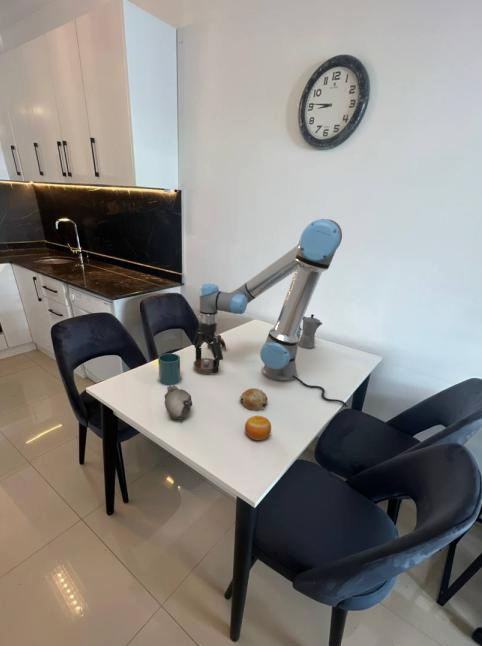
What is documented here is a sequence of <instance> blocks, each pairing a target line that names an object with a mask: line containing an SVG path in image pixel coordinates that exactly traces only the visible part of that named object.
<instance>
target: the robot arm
mask: <svg viewBox="0 0 482 646" xmlns="http://www.w3.org/2000/svg"><path fill="white" fill-rule="evenodd" d="M342 231H343V230H342V227H341V226H340V225H339V223H337V222H336V221H335V220H333V219H330V218H329V219H328V218H318V219H315V220H313V221H312V222H311V223H309V224H308V225H307V226H306V227H305V228H304V229H303V230H302V232H301V235H300V237H299V240H298V243H297V244H296V246H294V247H293V248H291V249H290V250H288V251H287V252H285V254H283V255H282V256H280V257H278V259H276V260H275V261H274V262H271V264H269V265H268V266H267V267H265V268H264V269H262V270H261V271H260V272H259V273H257V274H256V275H254V276H253V277H252V278H250V279H249V280H248V281H246V282H245V283H243V284H242V285H241V286H239V287H238V288H236V289H235V290H232V291H230V292H227V291H221V290H219V285H218V284H215V283H203V284H201V285H200V287H199V295H198V296H199V318H198V319H199V320H198V321H199V323H198V328H196V333H195V336H194V338H193V341H192V347H193V346H194V349H195V361H196V360H197V359H201V358H202V351H203V350H202V349H203V348H202V345H203V344H204V343H205V344H207V345H208V346H209V347H210V348H209V349H210V351H211V354H212V357H213V374H217V373H219V370H220V369H219V368H220V362H221V361H223V360H224V356H223V351H222V346H221V345H220V342H219V337H215V333H216V332H217V329H218V323H217V322H218V311H220V312H224V313H229V314H230V313H231V314H234V315H235V314H236V315H243V314H244V313H245V312H246V311H247V307H248V304H249V303H251V302H252V301H254V300H255V299H256V298H258V297H259V296H261V295H262V294H263V293H265V292H266V291H268V290H269V289H271V288H272V287H274V286H275V285H277V284H278V283H280V282H281V281H283V280H284V279H286V278H288V277H289V276H290V275H292V274H293V273H294V274H293V277H292V280H291V282H290V285H289V288H288V291H287V293H286V296H285V299H284V302H283V304H282V307H281V310H280V313H279V315H278V318H277V321H276V323H275V325H274V326H273V327H272V328H270V330H269V332H268V334H267V337H266V340H265V343H264V344H263V345H262V347H261V349H260V351H259V357H260V360H261V362H262V363H263V364H264V366H263V370H262V372H263V375H264V376H265V377H267V378H269V379H271V380H273V381H278V382H290V381H292V380H293V381H294V379H295V380H296V381H298V382H299V383H301V385H303V386H304V387H307V388H311V389H312V388H313V389H319V390H321V391H322V392H321V398H322V399H323V400H325V401H326V402H336V403H340V404H342V405H343V407H345V408H347V407H348V405H347V403H346V402H345V401H343V400H341V399H337V398H336V399H333V398H327V397H326V396H325V393H326V390H325V388H324V387H322V386H320V385H311V384H307V383H305V382H304V381H303V380H301V379H300V378H299V377H297V374H298V371H297V363H296V357H297V353H298V348H299V345H298V343H299V341H300V338H301V335H302V334H301V332H302V330H300V329H299V327H300V328H301V324H302V323H303V320H302V319H303V317H304V316H305V314H306V312H307V309H308V307H309V305H310V302H311V299H312V297H313V295H314V293H315V290H316V288H317V285H318V283H319V281H320V278H321V275H322V274H323V272H326V271H328V270H329V268H330V266H331V264H332V261H333V259H334V256H335V254H336V251H337V250H338V248H339V247H340V245H341V243H342V239H343V232H342Z"/></svg>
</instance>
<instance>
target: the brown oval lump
mask: <svg viewBox="0 0 482 646" xmlns="http://www.w3.org/2000/svg"><path fill="white" fill-rule="evenodd" d="M239 400H240V401H241V402H240V403H241V404H242V406H243V407H245V408H246V410H247V409H248V410H252V411H260V410H261V411H262V410H264V409H265V407H266V406H267V404H268V396H267V394H266V392H264V391H263V390H262V389H259V388H248V389H246V390H244V391H243V392H242V393H241V395H240V396H239Z"/></svg>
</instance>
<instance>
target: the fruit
mask: <svg viewBox="0 0 482 646" xmlns="http://www.w3.org/2000/svg"><path fill="white" fill-rule="evenodd" d="M244 431H245V434H246V435H247V436H248V437H249V438H250V439H251V440H255V441H261V440H265V439H266V438H268V437H269V436H270V434H271V432H272V423H271V421H270V420H269V419H268V418H266V417H265V416H263V415H262V416H261V415H252V416H250V417H249V418H247V420H246V422H245V424H244Z"/></svg>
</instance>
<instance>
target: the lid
mask: <svg viewBox="0 0 482 646" xmlns="http://www.w3.org/2000/svg"><path fill="white" fill-rule="evenodd" d="M213 360H214V358H209V357H201V359H197V360H196V359H195V360H194V361H193V367H192V368H193V370H194V371H195V372H196V373H197V374H201V375H211V374H213Z"/></svg>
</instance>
